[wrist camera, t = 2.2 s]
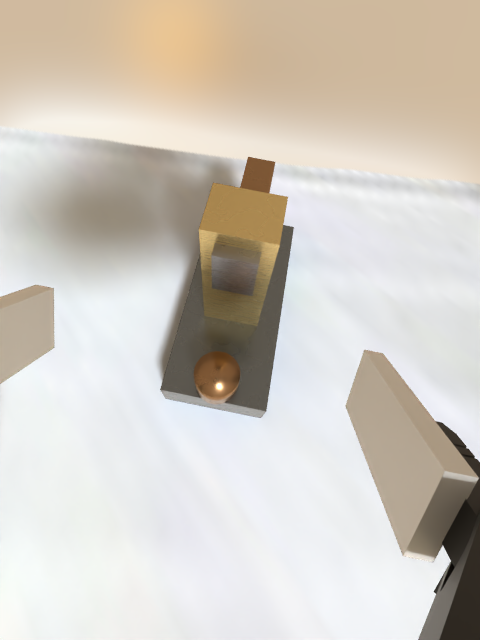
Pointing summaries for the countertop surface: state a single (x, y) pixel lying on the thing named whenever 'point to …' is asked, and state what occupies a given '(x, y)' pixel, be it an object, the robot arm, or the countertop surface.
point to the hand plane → (229, 336)
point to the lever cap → (239, 250)
